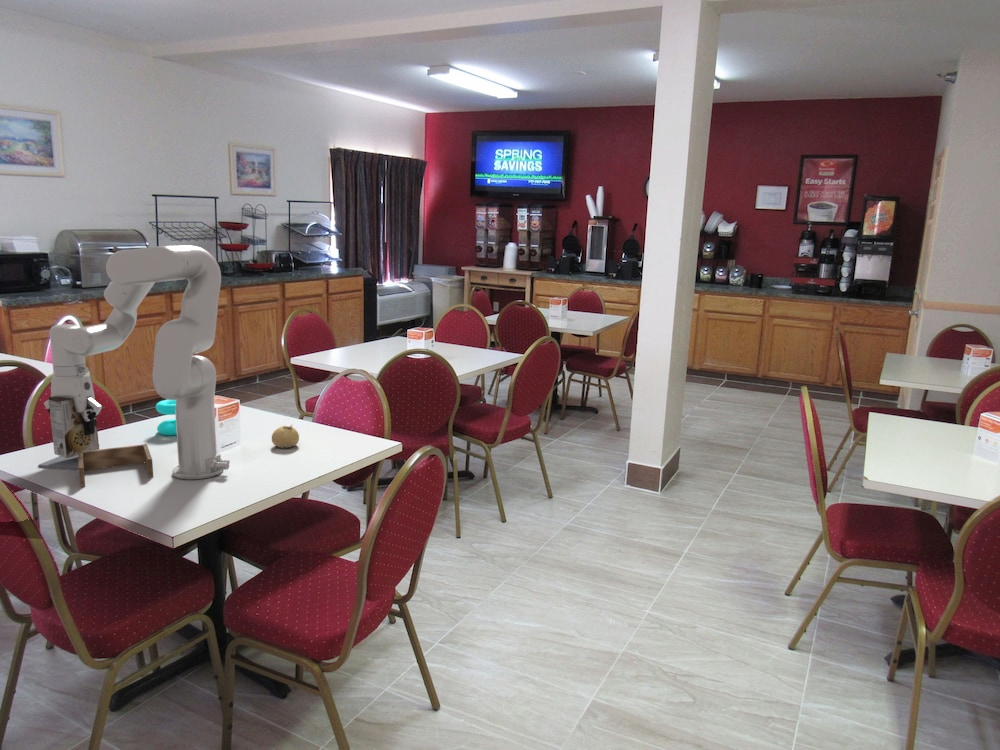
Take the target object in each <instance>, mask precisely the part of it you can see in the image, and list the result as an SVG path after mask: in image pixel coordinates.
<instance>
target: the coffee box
mask: <svg viewBox="0 0 1000 750" xmlns="http://www.w3.org/2000/svg"><path fill="white" fill-rule="evenodd" d="M48 399H49V407H50V413H49V417H50V424H51V434H52V441H53V442H52V443H53V453H54V455H57V456H58V457H59V456H62V457H64V458H70V457H73V456H77V455H78V452H82V451H91V450H99V449H100V443H99V434H98V423H97V418H96V419H94V428H95V433H93V434H91V435H88V436H85V435H84V427H83V422H84V421H85V420H84V418H83V416H82V415H81V413H77V412H76V408H75V403H74V399H71V398H63V397H51V396H50V397H48ZM88 407H92V406H90V405H89V404H87V407H86V409H88ZM91 410H92V411H93V407H92V408H91ZM86 413H87V415H88V412H86ZM88 416H89V415H88Z"/></svg>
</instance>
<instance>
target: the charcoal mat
mask: <svg viewBox="0 0 1000 750" xmlns="http://www.w3.org/2000/svg"><path fill="white" fill-rule="evenodd" d="M38 467H39V468H44V467H49V468H48V469H55V468H59V469H58V470H66V469H69V471H77V470H79V460H78V455H77V456H73V457H70V458H64V457H62V456H59V455H58V456H57V457H54V458H52V459H49V460H47V461H44V462H42V463H39V464H38Z"/></svg>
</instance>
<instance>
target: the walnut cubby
mask: <svg viewBox="0 0 1000 750" xmlns="http://www.w3.org/2000/svg"><path fill="white" fill-rule="evenodd" d="M78 460H79V471H78V473H79V474H78V475H79V486H80V488H83V487H82V486H85V487H86V480H85V479H86V477H85V476H86V475H85V471H90V470H89V469H91V470H98V469H97V468H99V469H104V468H103V467H107V468H112V466H115V467H122V466H121V465H123V466H129V465H128V464H131V465H137V463H139V464H144V466H145V469H146V472H147V476H148V478H149V479H151V478H154V468H153V467H154V466H153V457H152V455H151V452H150V448H149V446H148V444H147V443H146V444H145V443H144V444H136V445H134V444H133V445H128V446H119V447H118V446H117V447H110V448H109V447H108V448H101V449H100V448H99V450H91V451H82V452H78ZM144 462H145V463H144Z"/></svg>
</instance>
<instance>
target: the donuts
mask: <svg viewBox="0 0 1000 750" xmlns="http://www.w3.org/2000/svg"><path fill="white" fill-rule="evenodd" d="M175 406H176V400H167V399H165V400H164V399H163V400H160V401H158V402H157V403H156V405H155V410H156V411H157V412H158V413H159V414H162V415H165V416H166V415H169V416H173V415H174V416H176V414H175ZM156 431H157V432H158V433H159V434H160V435H164V436H177V432H176V418H173V419H167V420H164V421H162V422H160V423H159V424H157V427H156Z"/></svg>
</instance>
